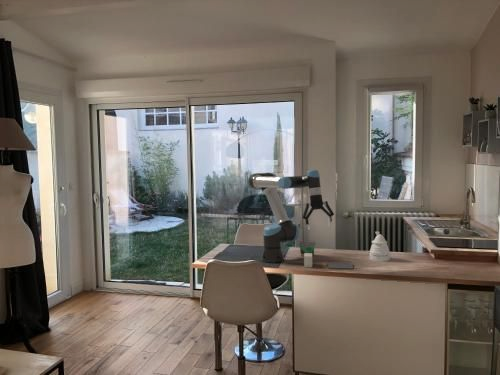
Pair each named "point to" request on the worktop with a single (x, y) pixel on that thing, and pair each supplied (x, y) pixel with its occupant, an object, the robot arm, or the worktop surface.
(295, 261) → the worktop surface
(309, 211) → the robot arm
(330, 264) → the rubber mat
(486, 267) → the worktop surface
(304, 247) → the food container
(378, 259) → the honey pot
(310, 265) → the card box
